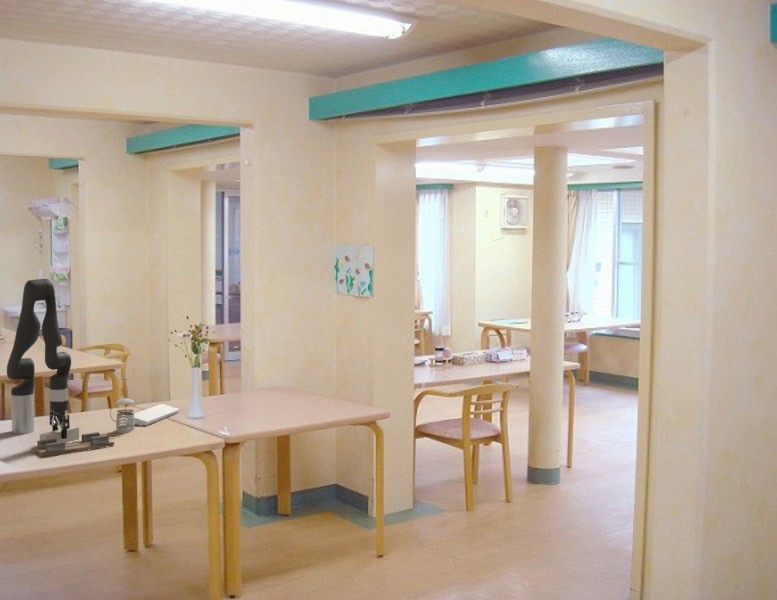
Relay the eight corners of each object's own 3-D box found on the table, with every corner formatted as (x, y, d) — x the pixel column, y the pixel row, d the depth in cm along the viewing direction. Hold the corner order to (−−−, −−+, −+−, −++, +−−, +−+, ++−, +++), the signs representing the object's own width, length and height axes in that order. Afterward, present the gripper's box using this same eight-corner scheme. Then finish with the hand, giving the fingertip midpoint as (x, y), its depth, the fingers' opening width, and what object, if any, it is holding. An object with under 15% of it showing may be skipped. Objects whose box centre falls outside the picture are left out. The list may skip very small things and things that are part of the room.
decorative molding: (177, 418, 448) (160, 412, 450) (179, 409, 448) (162, 403, 450) (145, 431, 415) (126, 425, 417) (147, 421, 414) (128, 415, 416)
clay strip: (39, 448, 371) (39, 434, 371) (72, 440, 388) (72, 426, 387) (47, 449, 370) (46, 435, 369) (79, 441, 386) (79, 427, 385)
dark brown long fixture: (31, 452, 363) (31, 441, 363) (100, 441, 384) (100, 431, 384) (44, 457, 355) (44, 446, 354) (114, 445, 376) (114, 435, 375)
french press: (136, 433, 401) (136, 378, 400) (109, 434, 398) (109, 379, 397) (136, 429, 411) (136, 375, 409) (110, 430, 408) (109, 376, 406)
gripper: (43, 398, 380) (43, 436, 381) (57, 402, 370) (58, 441, 370) (60, 396, 385) (61, 433, 386) (75, 400, 375) (75, 438, 376)
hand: (59, 437), depth 378 cm, fingers open, 8 cm apart
